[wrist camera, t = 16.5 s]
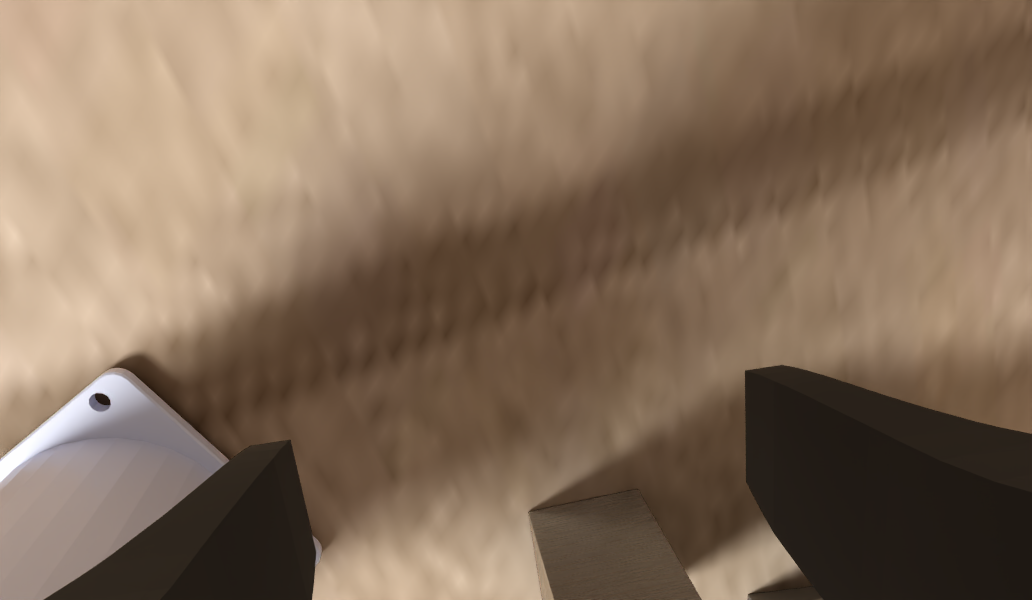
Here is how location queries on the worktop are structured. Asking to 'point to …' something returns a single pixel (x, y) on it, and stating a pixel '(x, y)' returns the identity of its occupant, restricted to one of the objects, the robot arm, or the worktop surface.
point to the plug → (787, 594)
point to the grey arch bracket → (606, 552)
